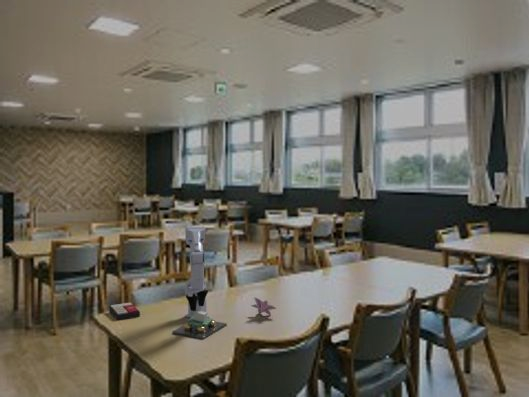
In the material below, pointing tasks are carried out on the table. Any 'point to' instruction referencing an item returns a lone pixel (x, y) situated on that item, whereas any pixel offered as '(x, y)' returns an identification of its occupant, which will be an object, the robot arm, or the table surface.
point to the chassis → (199, 330)
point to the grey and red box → (124, 311)
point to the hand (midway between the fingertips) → (197, 308)
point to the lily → (263, 306)
